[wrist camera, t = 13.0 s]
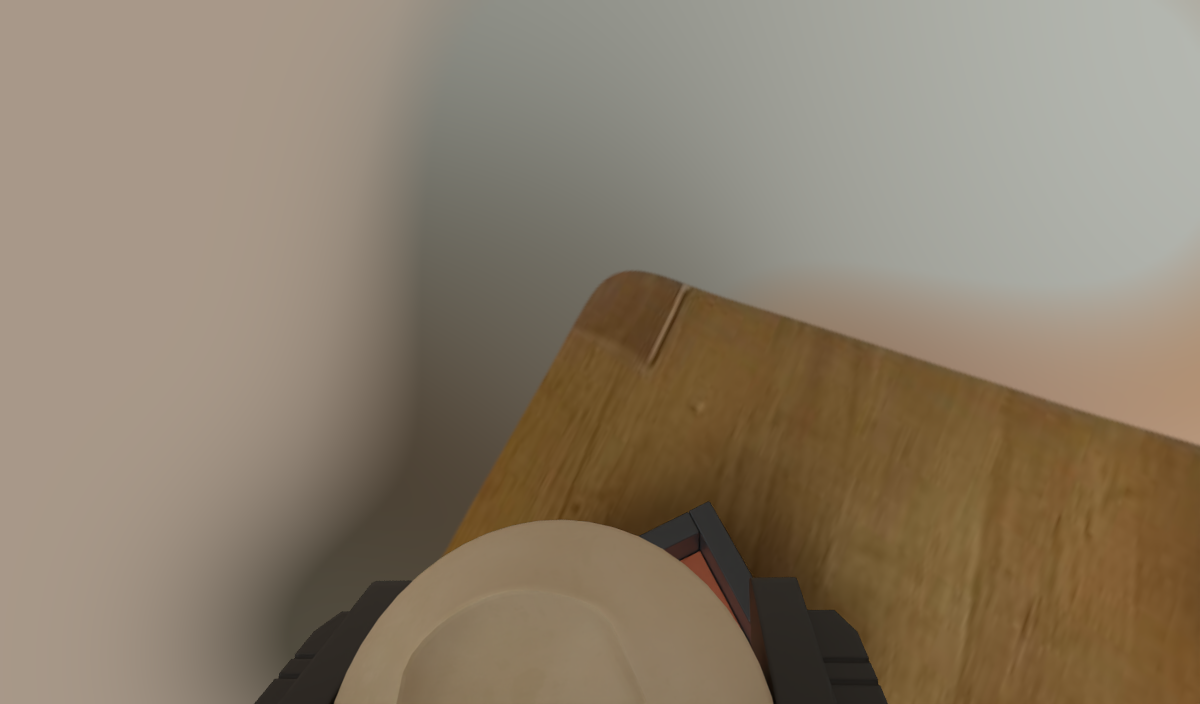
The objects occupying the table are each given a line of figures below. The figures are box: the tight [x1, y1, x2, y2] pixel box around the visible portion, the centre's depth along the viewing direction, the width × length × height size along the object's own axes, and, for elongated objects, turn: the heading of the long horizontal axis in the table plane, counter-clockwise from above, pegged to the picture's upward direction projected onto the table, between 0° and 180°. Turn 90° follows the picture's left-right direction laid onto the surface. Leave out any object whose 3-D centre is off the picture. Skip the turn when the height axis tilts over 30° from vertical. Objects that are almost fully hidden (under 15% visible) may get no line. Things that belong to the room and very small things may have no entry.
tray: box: [639, 502, 753, 646], centre depth 26 cm, size 10×10×4 cm
